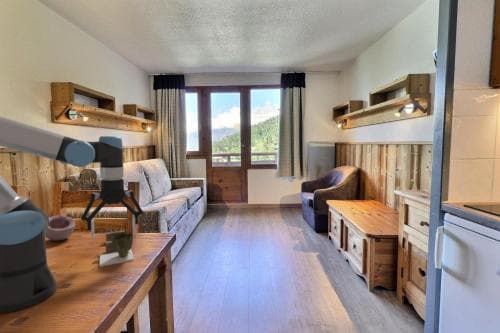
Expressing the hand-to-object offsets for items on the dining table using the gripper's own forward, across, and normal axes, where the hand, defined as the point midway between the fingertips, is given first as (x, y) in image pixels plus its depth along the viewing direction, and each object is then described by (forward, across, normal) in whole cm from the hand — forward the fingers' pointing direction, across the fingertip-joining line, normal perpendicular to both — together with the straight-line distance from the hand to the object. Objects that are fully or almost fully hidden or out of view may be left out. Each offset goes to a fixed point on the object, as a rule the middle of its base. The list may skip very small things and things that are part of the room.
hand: (114, 235), depth 100 cm
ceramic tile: (+9, -1, 0) cm, 9 cm away
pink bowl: (+9, +21, -34) cm, 41 cm away
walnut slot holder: (+9, -1, -14) cm, 17 cm away
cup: (+8, -3, 0) cm, 9 cm away
